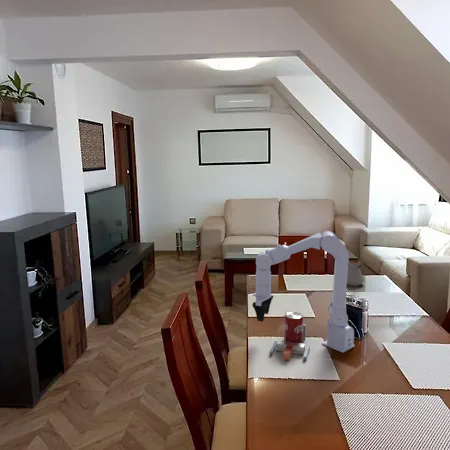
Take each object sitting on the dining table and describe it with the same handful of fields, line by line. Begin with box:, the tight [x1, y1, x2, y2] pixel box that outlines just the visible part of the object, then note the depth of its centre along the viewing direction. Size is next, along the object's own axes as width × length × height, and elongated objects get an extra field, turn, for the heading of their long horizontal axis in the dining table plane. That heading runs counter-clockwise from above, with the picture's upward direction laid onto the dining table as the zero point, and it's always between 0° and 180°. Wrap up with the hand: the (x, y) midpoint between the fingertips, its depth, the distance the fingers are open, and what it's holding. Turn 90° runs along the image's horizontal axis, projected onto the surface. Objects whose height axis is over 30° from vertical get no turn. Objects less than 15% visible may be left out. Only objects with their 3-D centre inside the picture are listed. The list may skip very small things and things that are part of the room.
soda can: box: [283, 311, 304, 344], centre depth 157 cm, size 7×7×12 cm
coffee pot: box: [347, 260, 365, 287], centre depth 225 cm, size 21×12×15 cm, turn 175°
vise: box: [269, 323, 311, 362], centre depth 156 cm, size 18×13×6 cm
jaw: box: [276, 339, 306, 362], centre depth 150 cm, size 9×10×3 cm
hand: (262, 317), depth 160 cm, fingers open, 7 cm apart
